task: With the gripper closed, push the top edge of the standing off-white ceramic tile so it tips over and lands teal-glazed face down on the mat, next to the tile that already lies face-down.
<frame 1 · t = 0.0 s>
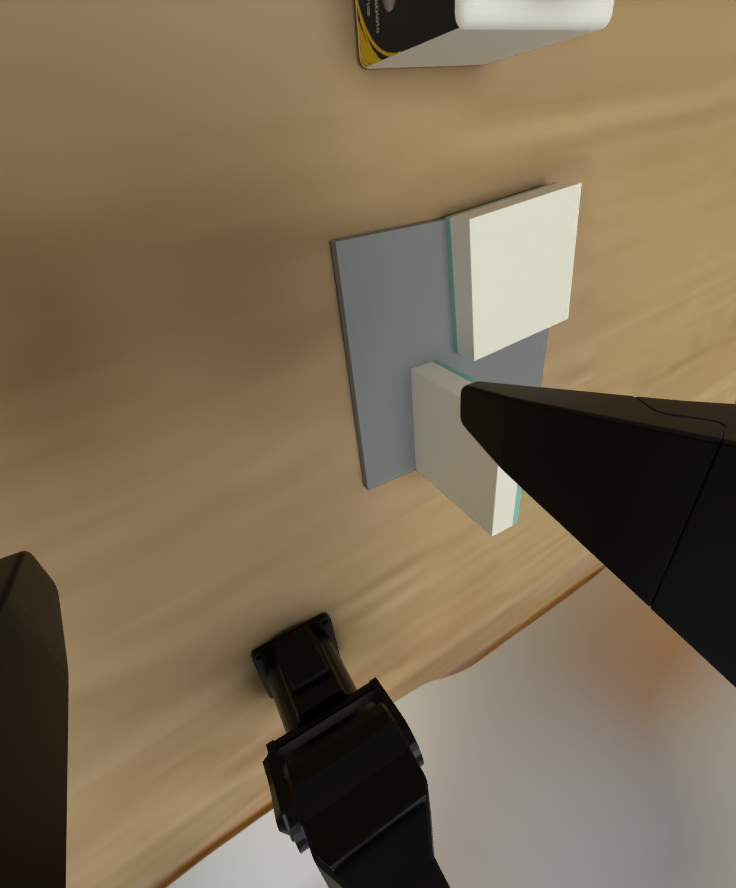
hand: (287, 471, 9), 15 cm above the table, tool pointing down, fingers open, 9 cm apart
mat: (456, 348, 29), on the table
flat tile: (501, 270, 27), point 1 cm above the table, touching mat
tile: (425, 418, 30), point 1 cm above the table, touching mat
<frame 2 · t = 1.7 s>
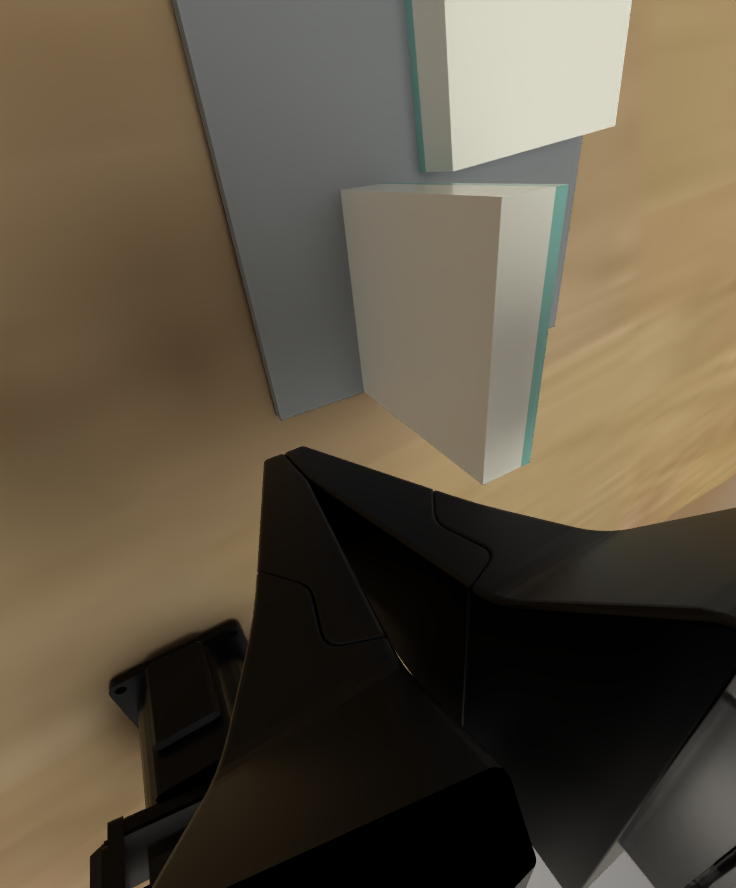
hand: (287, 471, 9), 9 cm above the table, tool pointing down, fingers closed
mat: (424, 175, 17), on the table
flat tile: (502, 13, 15), point 1 cm above the table, touching mat
tile: (375, 298, 18), point 1 cm above the table, touching mat
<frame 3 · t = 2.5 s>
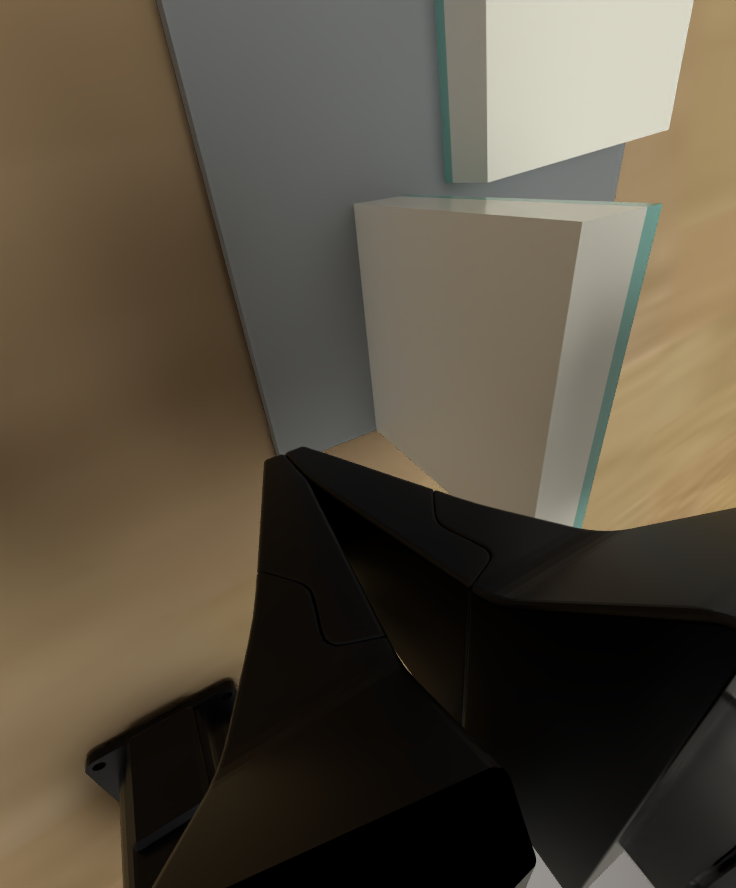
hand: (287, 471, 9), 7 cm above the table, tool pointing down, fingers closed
mat: (449, 186, 15), on the table
tile: (391, 326, 15), point 1 cm above the table, touching mat
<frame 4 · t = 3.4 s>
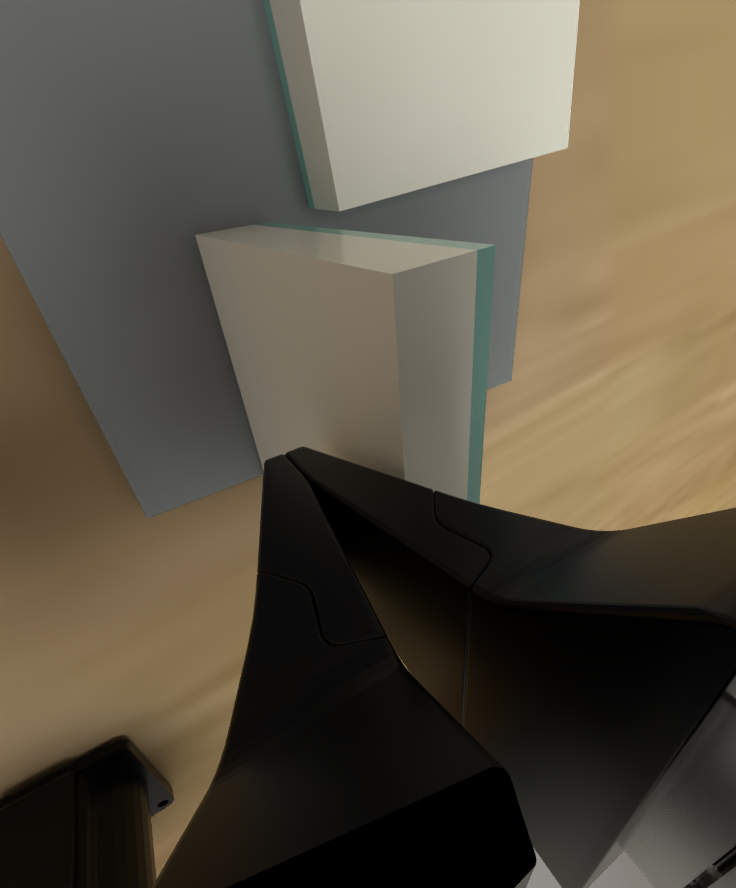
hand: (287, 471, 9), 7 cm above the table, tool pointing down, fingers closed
mat: (322, 210, 13), on the table
flat tile: (409, 1, 11), point 1 cm above the table, touching mat
tile: (265, 366, 14), point 1 cm above the table, tilted 8°, touching mat
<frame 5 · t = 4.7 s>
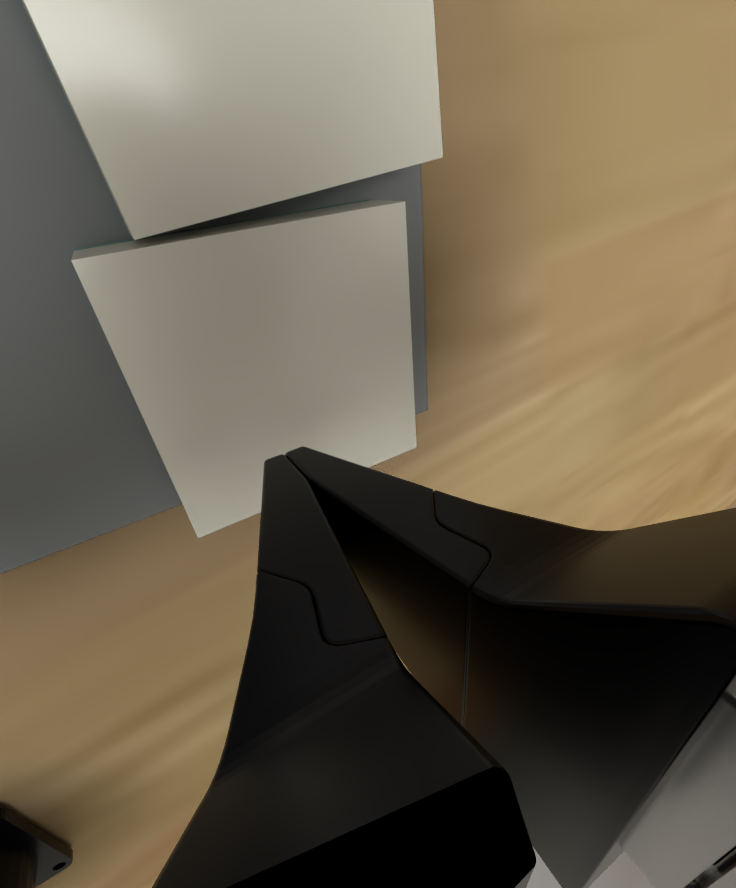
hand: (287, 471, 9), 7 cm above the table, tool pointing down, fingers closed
mat: (155, 232, 11), on the table
tile: (144, 412, 12), point 2 cm above the table, tilted 90°, touching mat
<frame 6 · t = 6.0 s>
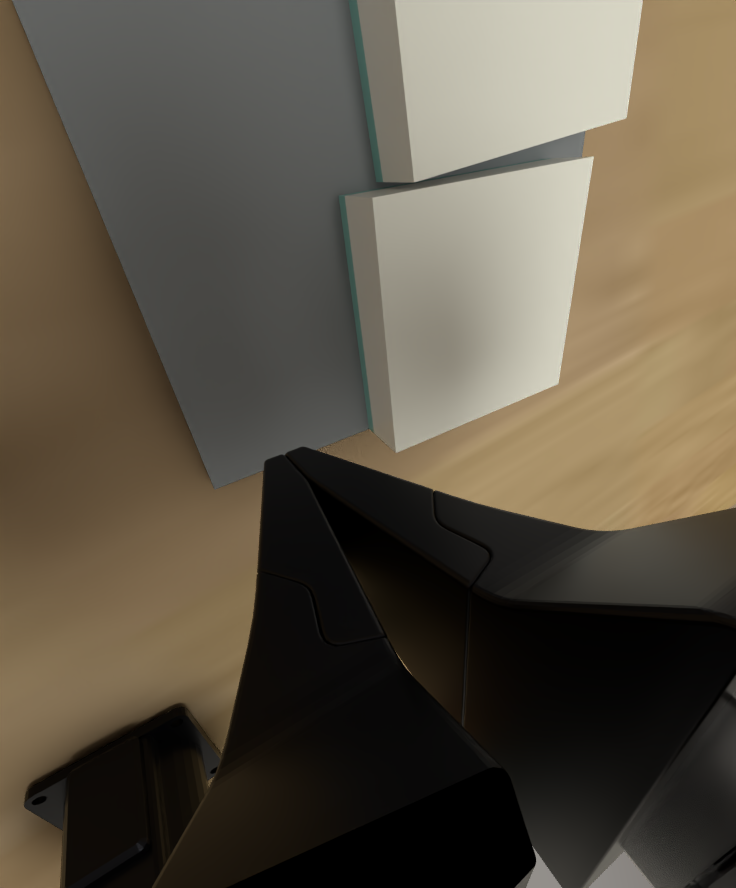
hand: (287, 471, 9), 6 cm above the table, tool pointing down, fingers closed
mat: (385, 185, 13), on the table
tile: (370, 338, 14), point 2 cm above the table, tilted 90°, touching mat
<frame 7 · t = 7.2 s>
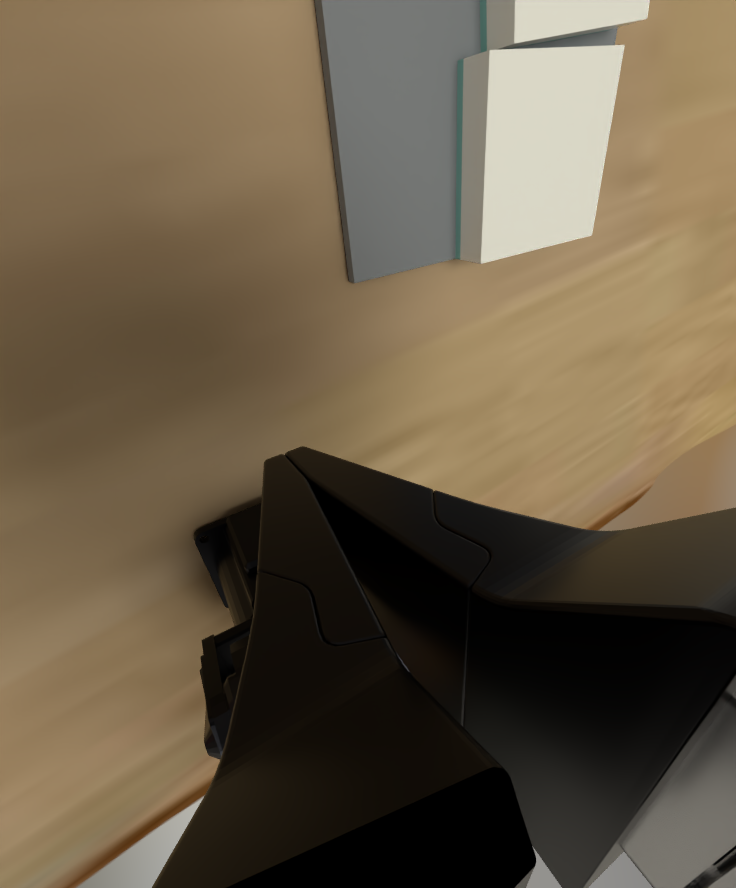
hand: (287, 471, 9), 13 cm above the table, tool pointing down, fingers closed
mat: (482, 61, 20), on the table
tile: (470, 169, 20), point 2 cm above the table, tilted 90°, touching mat
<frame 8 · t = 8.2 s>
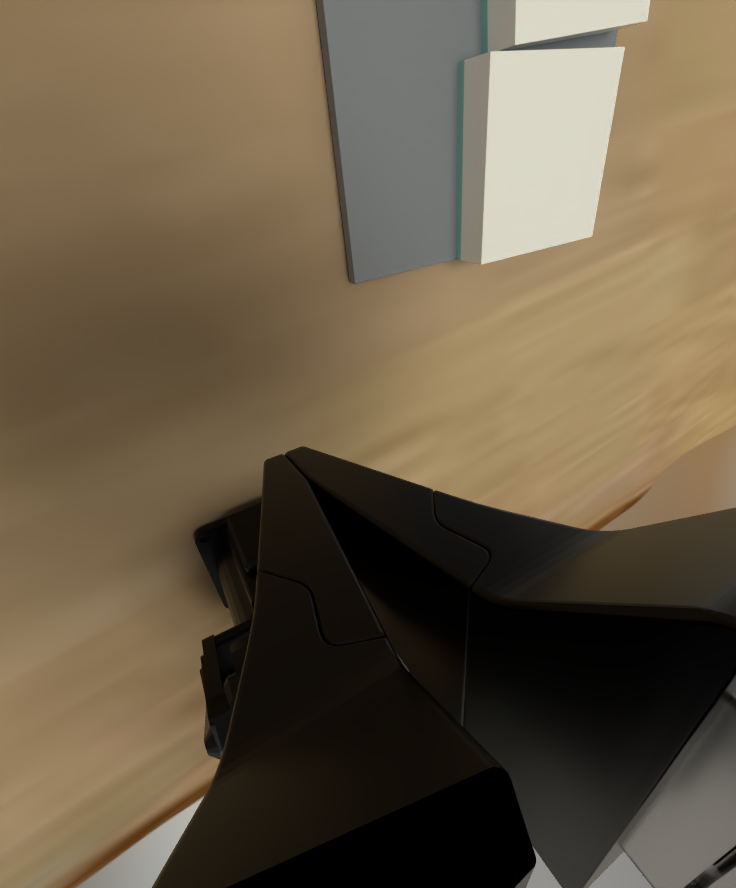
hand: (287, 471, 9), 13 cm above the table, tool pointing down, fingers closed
mat: (483, 63, 20), on the table
tile: (470, 170, 20), point 2 cm above the table, tilted 90°, touching mat
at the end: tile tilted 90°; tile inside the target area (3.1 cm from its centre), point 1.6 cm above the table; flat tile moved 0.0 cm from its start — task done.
